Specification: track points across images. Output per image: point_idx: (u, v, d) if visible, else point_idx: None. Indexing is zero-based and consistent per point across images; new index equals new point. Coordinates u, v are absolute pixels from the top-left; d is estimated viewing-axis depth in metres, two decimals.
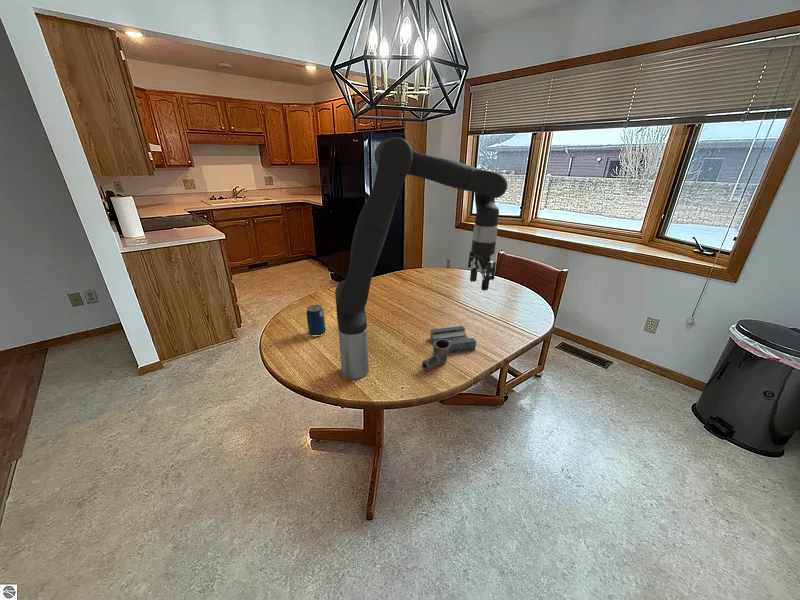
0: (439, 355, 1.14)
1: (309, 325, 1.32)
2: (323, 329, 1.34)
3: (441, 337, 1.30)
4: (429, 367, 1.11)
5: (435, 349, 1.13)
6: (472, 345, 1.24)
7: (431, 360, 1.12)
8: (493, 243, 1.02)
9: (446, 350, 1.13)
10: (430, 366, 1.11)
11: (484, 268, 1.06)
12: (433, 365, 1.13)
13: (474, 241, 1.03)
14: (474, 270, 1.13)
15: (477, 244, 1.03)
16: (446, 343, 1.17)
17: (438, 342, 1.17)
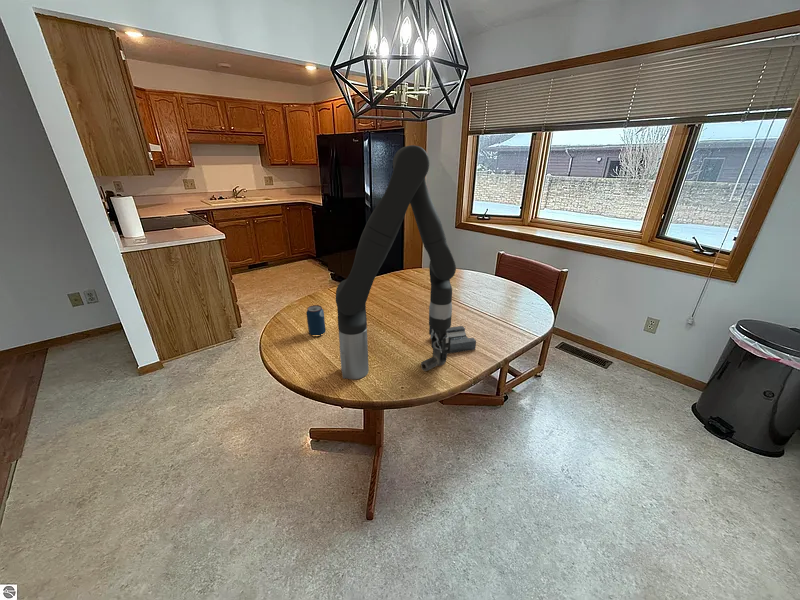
0: (438, 356, 1.13)
1: (309, 325, 1.32)
2: (323, 329, 1.34)
3: None
4: (428, 368, 1.11)
5: (434, 350, 1.13)
6: (472, 345, 1.24)
7: (430, 360, 1.12)
8: (448, 319, 1.06)
9: None
10: (429, 367, 1.11)
11: (441, 340, 1.09)
12: (432, 366, 1.12)
13: (430, 316, 1.07)
14: (434, 338, 1.17)
15: (433, 320, 1.06)
16: None
17: None
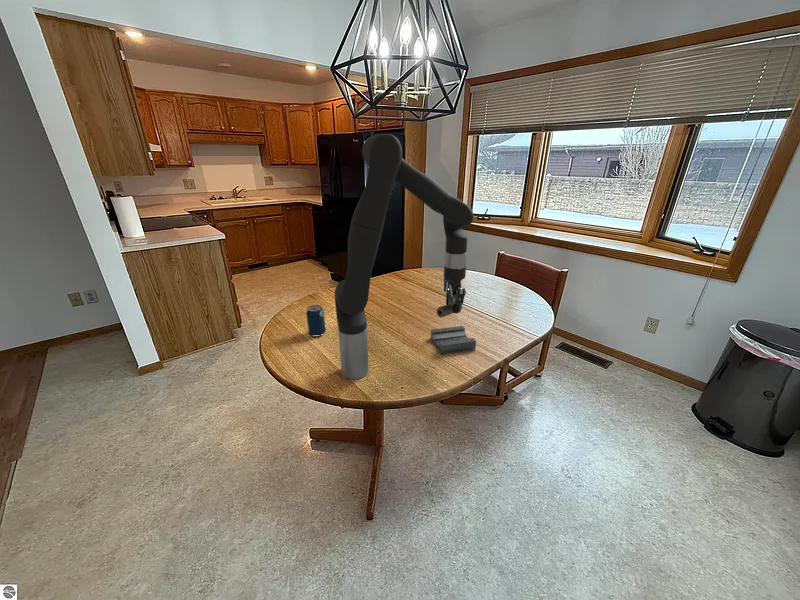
0: None
1: (309, 325, 1.32)
2: (323, 329, 1.34)
3: (441, 337, 1.30)
4: (444, 313, 1.12)
5: (450, 297, 1.14)
6: (472, 345, 1.24)
7: (446, 307, 1.13)
8: (463, 269, 1.08)
9: None
10: (445, 312, 1.12)
11: (456, 292, 1.12)
12: (448, 312, 1.14)
13: (445, 267, 1.09)
14: None
15: (448, 270, 1.09)
16: None
17: None
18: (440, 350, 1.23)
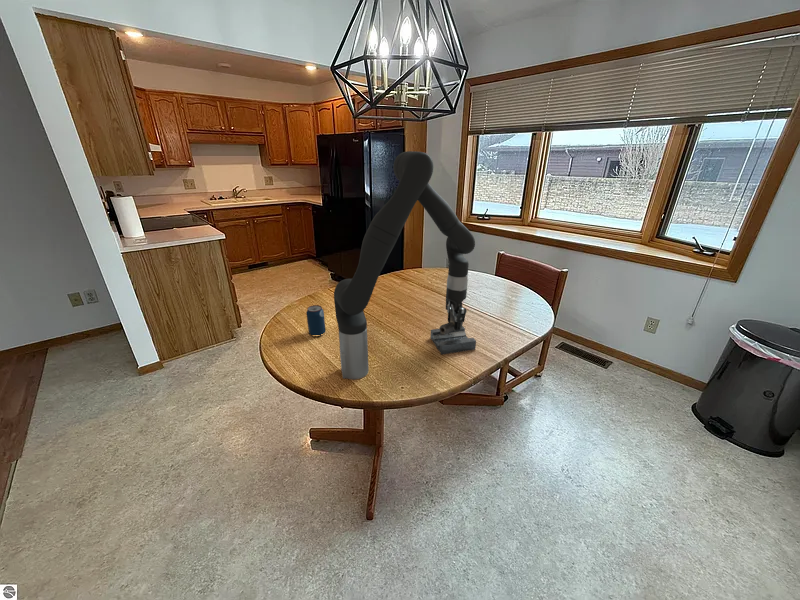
0: None
1: (309, 325, 1.32)
2: (323, 329, 1.34)
3: (441, 337, 1.30)
4: (446, 331, 1.21)
5: (452, 315, 1.23)
6: (472, 345, 1.24)
7: (448, 325, 1.22)
8: (464, 290, 1.17)
9: None
10: (447, 330, 1.21)
11: (457, 311, 1.21)
12: (450, 329, 1.22)
13: (448, 288, 1.18)
14: None
15: (450, 291, 1.17)
16: None
17: None
18: (440, 350, 1.23)
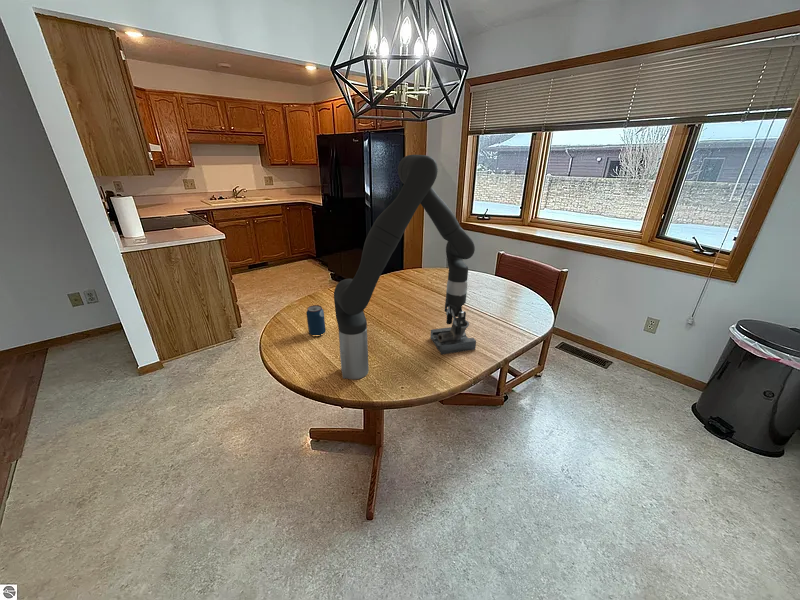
0: None
1: (309, 325, 1.32)
2: (323, 329, 1.34)
3: None
4: (443, 339, 1.23)
5: (453, 326, 1.25)
6: (472, 345, 1.24)
7: (447, 334, 1.24)
8: (464, 295, 1.18)
9: (463, 329, 1.24)
10: (445, 339, 1.23)
11: (457, 315, 1.22)
12: (447, 339, 1.24)
13: (447, 293, 1.19)
14: (450, 315, 1.29)
15: (450, 296, 1.18)
16: None
17: (457, 321, 1.28)
18: (440, 350, 1.23)
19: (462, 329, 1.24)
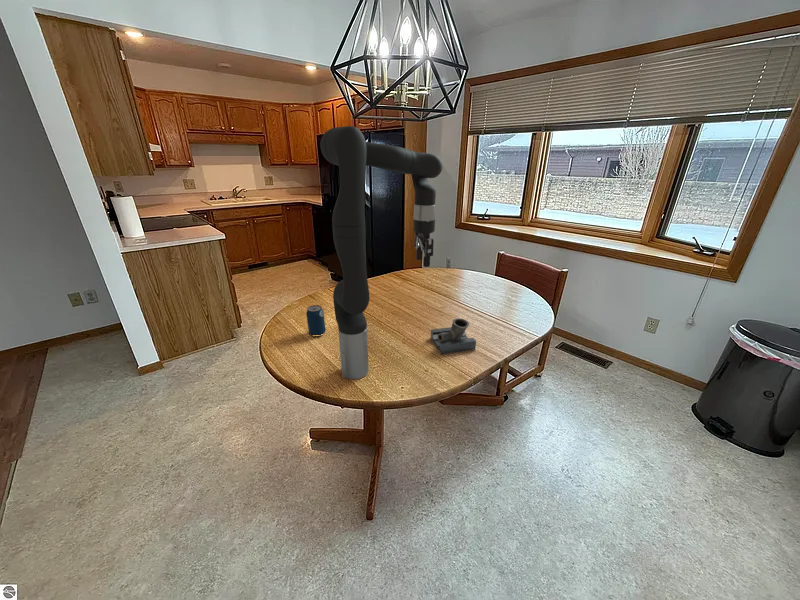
0: (455, 332, 1.25)
1: (309, 325, 1.32)
2: (323, 329, 1.34)
3: None
4: (443, 339, 1.23)
5: (453, 326, 1.25)
6: (472, 345, 1.24)
7: (447, 334, 1.24)
8: (431, 221, 1.09)
9: (463, 329, 1.24)
10: (445, 339, 1.23)
11: None
12: (447, 339, 1.24)
13: (414, 220, 1.10)
14: (419, 249, 1.20)
15: (416, 222, 1.09)
16: (464, 323, 1.27)
17: (457, 321, 1.28)
18: (440, 350, 1.23)
19: (462, 329, 1.24)
